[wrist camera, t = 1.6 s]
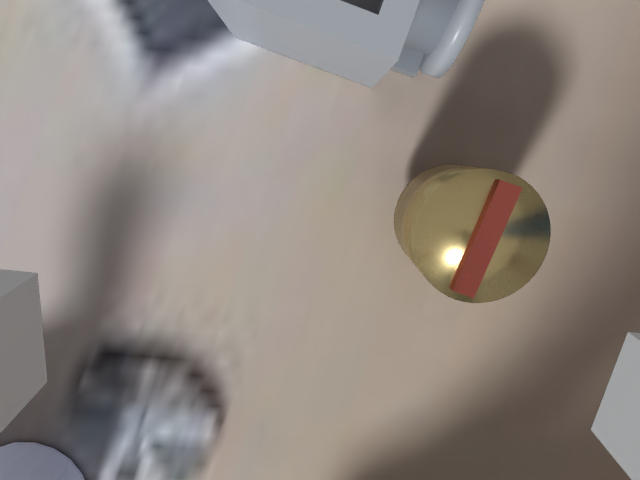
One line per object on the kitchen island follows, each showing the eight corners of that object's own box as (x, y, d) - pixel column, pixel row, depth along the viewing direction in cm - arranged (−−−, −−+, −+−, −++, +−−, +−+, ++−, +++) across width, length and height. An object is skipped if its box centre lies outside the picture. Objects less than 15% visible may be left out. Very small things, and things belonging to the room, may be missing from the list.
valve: (409, 148, 30) (449, 149, 21) (503, 182, 31) (580, 197, 22) (373, 243, 32) (396, 282, 23) (464, 274, 32) (521, 324, 23)
